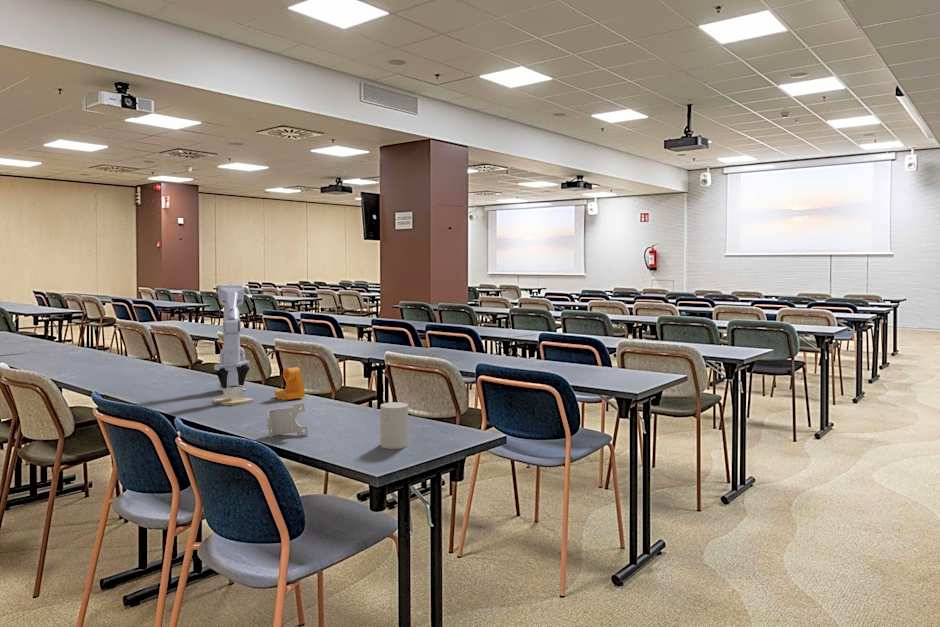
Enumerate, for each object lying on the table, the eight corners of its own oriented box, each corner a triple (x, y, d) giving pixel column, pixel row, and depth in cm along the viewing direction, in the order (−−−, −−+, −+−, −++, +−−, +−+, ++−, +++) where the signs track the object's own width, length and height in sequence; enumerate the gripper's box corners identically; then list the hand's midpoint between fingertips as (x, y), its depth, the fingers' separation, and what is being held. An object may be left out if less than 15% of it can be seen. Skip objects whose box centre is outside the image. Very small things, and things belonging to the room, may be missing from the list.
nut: (223, 399, 266) (223, 386, 265) (234, 397, 270) (234, 384, 270) (231, 401, 263) (231, 388, 263) (242, 399, 267) (242, 386, 267)
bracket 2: (269, 440, 215) (265, 408, 214) (275, 437, 219) (271, 405, 219) (304, 437, 213) (299, 405, 213) (309, 434, 218) (304, 402, 217)
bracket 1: (274, 397, 276) (273, 367, 275) (290, 395, 282) (289, 365, 281) (288, 401, 269) (288, 370, 268) (304, 398, 274) (304, 368, 273)
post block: (211, 402, 266) (211, 386, 266) (234, 397, 274) (234, 382, 274) (231, 406, 259) (231, 390, 259) (253, 401, 267) (253, 386, 267)
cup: (381, 441, 211) (381, 402, 210) (408, 441, 212) (408, 402, 211) (379, 448, 203) (379, 408, 202) (407, 448, 203) (407, 407, 202)
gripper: (222, 354, 257) (222, 390, 258) (254, 350, 269) (255, 385, 270) (210, 352, 261) (211, 388, 262) (243, 348, 273) (243, 382, 274)
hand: (232, 386), depth 266 cm, fingers open, 7 cm apart
